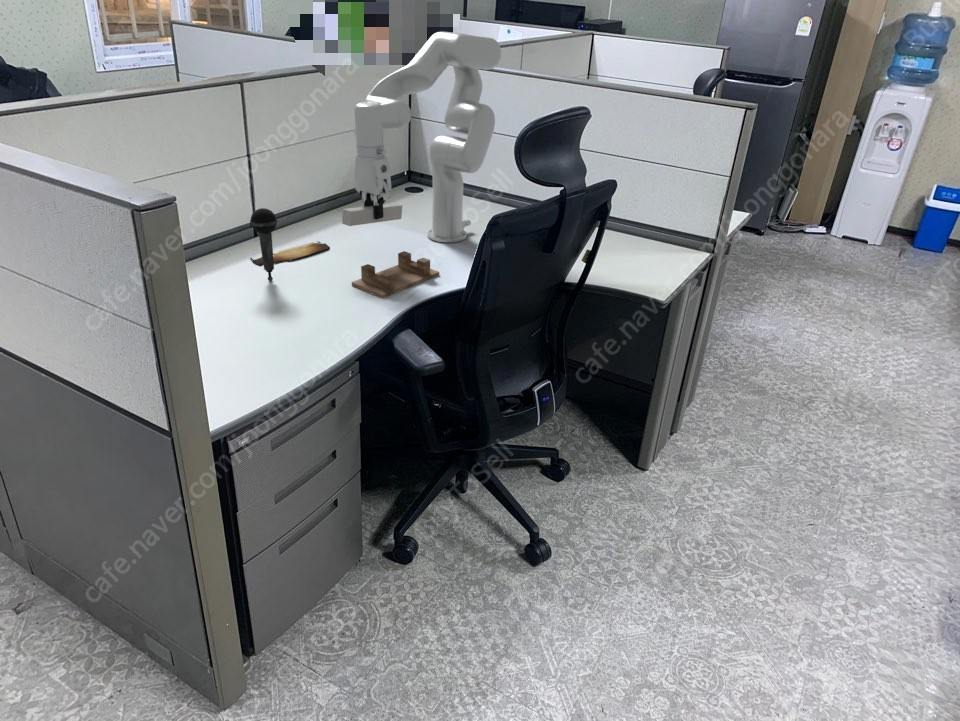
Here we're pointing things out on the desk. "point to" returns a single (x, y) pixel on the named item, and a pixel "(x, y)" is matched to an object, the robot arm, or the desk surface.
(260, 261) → the parchment
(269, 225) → the microphone
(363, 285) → the wooden pegged board
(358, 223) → the clay strip
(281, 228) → the desk surface
